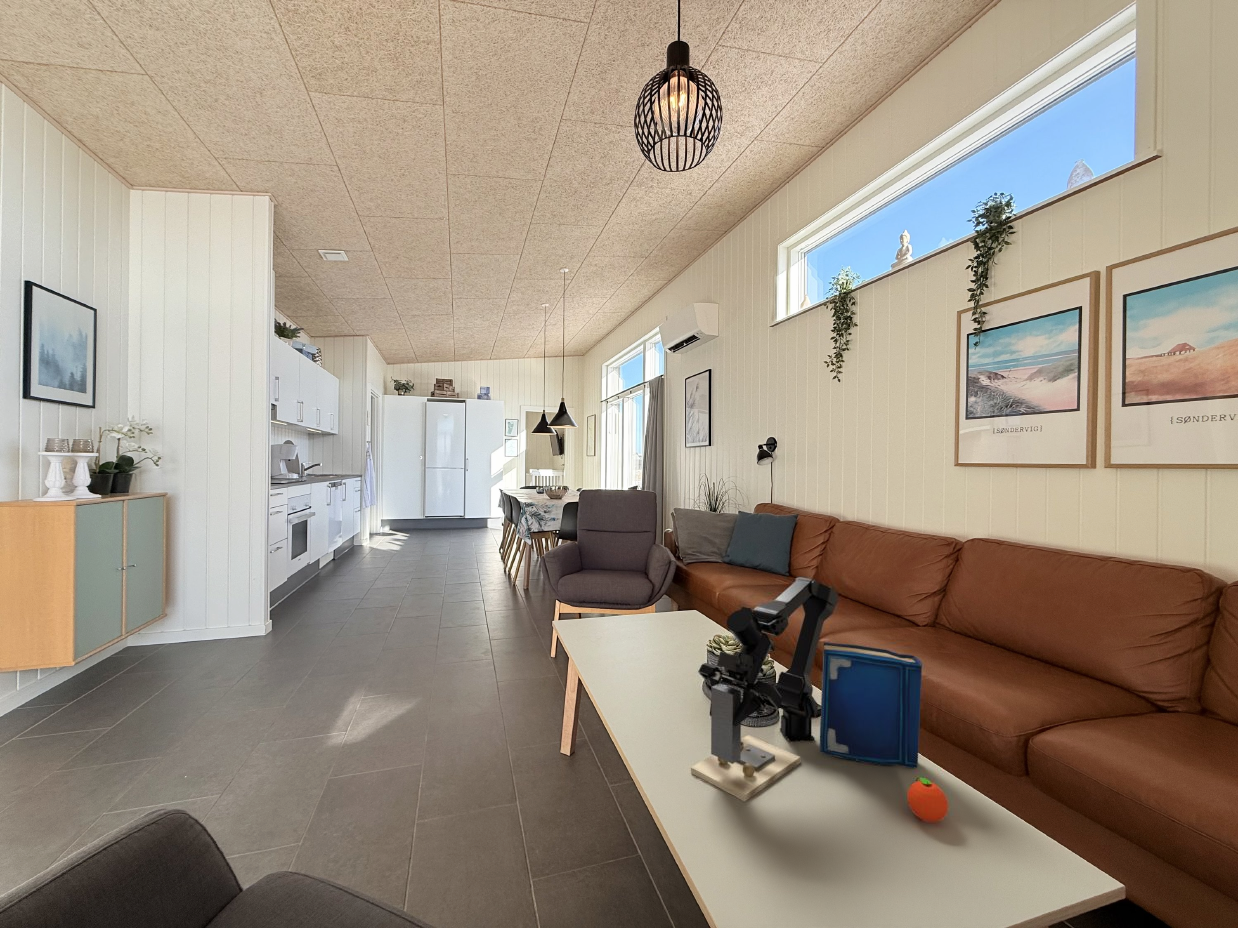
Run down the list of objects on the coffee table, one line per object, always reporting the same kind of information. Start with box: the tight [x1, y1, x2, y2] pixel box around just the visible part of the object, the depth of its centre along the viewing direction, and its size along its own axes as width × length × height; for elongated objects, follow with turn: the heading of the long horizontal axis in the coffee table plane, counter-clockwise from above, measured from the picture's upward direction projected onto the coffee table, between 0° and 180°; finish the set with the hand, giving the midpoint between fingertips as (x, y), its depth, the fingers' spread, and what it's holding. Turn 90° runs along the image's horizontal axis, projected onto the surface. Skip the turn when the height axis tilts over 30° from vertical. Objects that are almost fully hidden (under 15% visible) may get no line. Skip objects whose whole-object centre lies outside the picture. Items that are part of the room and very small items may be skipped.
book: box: [819, 642, 923, 769], centre depth 130 cm, size 22×7×25 cm, turn 71°
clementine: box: [906, 777, 949, 823], centre depth 108 cm, size 8×7×7 cm
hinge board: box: [690, 734, 801, 802], centre depth 125 cm, size 22×14×3 cm, turn 133°
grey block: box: [710, 684, 744, 764], centre depth 121 cm, size 6×6×14 cm
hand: (722, 720), depth 119 cm, fingers closed on grey block, 5 cm apart
